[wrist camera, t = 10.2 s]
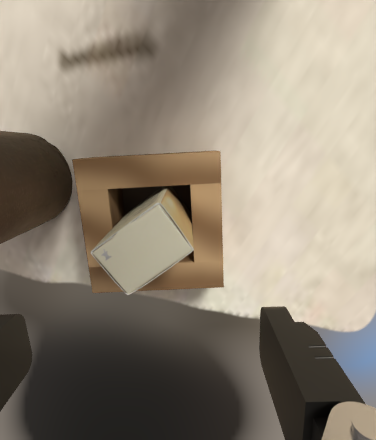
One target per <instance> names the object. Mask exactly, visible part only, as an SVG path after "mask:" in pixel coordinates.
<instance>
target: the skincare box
mask: <svg viewBox="0 0 376 440" xmlns="http://www.w3.org/2000/svg"><path fill="white" fill-rule="evenodd" d="M192 251H194V245H193V234H192V222H191V213H190V211H189V210H188V208H187V207H186V205H185V204H184V202H183V201H182V200H181V198H180V197H179V195H178V194H177V193H176V191H175V190H174V189H173V187H172V186H163V187H162V188H160V189H159V190H157V191H156V192H154V193H153V194H152V195H150V196H149V197H148V198H146V199H145V200H144V201H142V202H141V203H140V204H138V205H137V206H136V207H134V208H133V209H132V210H131V211H129V212H128V213H127V214H126V215H125V216H124V217H123V218H122V219H121V220H120V221H119V222H118V223H117V224H116V225H115V226H114V227H113V229H112V230H111V231H110V232H109V233H108V234H107V235H106V236H105V237H104V238H103V239H102V240H101V241H100V242H99V243H98V244H97V245H96V246H95V247H94V248H93V250H91V254H92V256H93V257H94V258H95V259H96V260H97V262H98V263H99V264H100V265H101V266H102V268H103V269H104V270H105V271H106V272H107V274H108V275H109V276H110V277H111V278H112V279H113V281H114V282H115V283H116V284H117V285H118V286H119V287H120V288H121V289H122V290H123V291H124V293H125V294H126V295H130V294H132V293H133V292H135V291H137V290H138V289H140V288H142V287H143V286H145V285H146V284H148V283H149V282H151V281H152V280H154V279H155V278H157V277H158V276H160V275H161V274H162V273H164V272H165V271H167V270H168V269H169V268H171V267H172V266H174V265H175V264H176V263H178V262H179V261H180V260H182V259H183V258H184V257H186V256H187V255H188V254H190V253H191V252H192Z"/></svg>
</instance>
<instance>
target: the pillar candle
mask: <svg viewBox="0 0 376 440" xmlns="http://www.w3.org/2000/svg"><path fill="white" fill-rule="evenodd" d="M71 190H72V178H71V172H70V169H69V166H68V164H67V162H66V160H65V159H64V157H63V155H62V154H61V152H60V151H59V150H58V149H57V148H56V147H55V146H53V145H51V144H50V143H48V142H47V141H46V140H45V139H43V138H42V137H39V136H36V135H32V134H28V133H17V132H6V131H0V244H1V243H3V242H5V241H7V240H9V239H12V238H13V237H15V236H18V235H20V234H22V233H24V232H26V231H28V230H30V229H32V228H34V227H36V226H39V225H41V224H43V223H45V222H46V221H49V220H51V219H53V218H55V217H56V216H57V215H58V214H59V213H61V212H62V210H63V209H64V207H65V206H66V204H67V203H68V201H69V198H70V196H71V192H72V191H71Z"/></svg>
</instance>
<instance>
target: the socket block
mask: <svg viewBox="0 0 376 440" xmlns="http://www.w3.org/2000/svg"><path fill="white" fill-rule="evenodd" d="M72 161H73V167H74V174H75V180H76V187H77V193H78V200H79V207H80V213H81V220H82V226H83V233H84V239H85V246H86V253H87V259H88V266H89V272H90V279H91V285H92V292H93V293H102V292H124V291H123V290H122V289H121V288H120V287H119V286H118V285H117V284H116V283H115V282H114V281H113V279H112V278H111V277H110V276H109V275H108V274H107V272H106V271H105V270H104V269H103V268H102V266H101V265H100V264H99V263H98V262H97V260H96V259H95V258H94V257H93V256H92V254H91V250H93V248H94V247H95V246H96V245H97V244H98V243H99V242H100V241H101V240H102V239H103V238H104V237H105V236H106V235H107V234H108V233H109V232H110V231H111V230H112V229H113V227H114V226H115V225H116V224H117V223H118V222H119V221H120V220H121V219H122V218H123V217H124V216H125V215H126V214H127V213H128V212H129V211H131V210H132V209H133V208H134V207H136V206H137V205H138V204H140V203H141V202H142V201H144V200H145V199H146V198H148V197H149V196H150V195H152V194H153V193H154V192H156V191H157V190H159V189H160V188H162V187H163V186H172V187H173V189H174V190H175V191H176V193H177V194H178V195H179V197H180V198H181V200H182V201H183V202H184V204H185V205H186V207H187V208H188V210H189V211H190V213H191V222H192V227H193V230H192V234H193V245H194V251H192V252H191V253H190V254H188V255H187V256H186V257H184V258H183V259H182V260H180V261H179V262H178V263H176V264H175V265H174V266H172V267H171V268H169V269H168V270H167V271H165V272H164V273H162V274H161V275H160V276H158V277H157V278H155V279H154V280H152V281H151V282H149V283H148V284H146V285H145V286H143V287H142V288H140V289H138V290H137V291H147V290H170V289H192V288H214V287H224V285H223V244H222V202H221V160H220V151H201V152H182V153H164V154H146V155H127V156H109V157H92V158H82V159H73V160H72ZM190 188H191V191H190ZM191 207H192V211H191Z"/></svg>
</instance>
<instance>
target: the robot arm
mask: <svg viewBox="0 0 376 440" xmlns="http://www.w3.org/2000/svg"><path fill="white" fill-rule="evenodd" d="M259 349H260V359H261V365H262V368H263V372H264V375H265V378H266V381H267V384H268V387H269V390H270V394H271V397H272V400H273V403H274V406H275V409H276V412H277V416H278V419H279V422H280V425H281V428H282V431H283V434H284V437H285V440H376V409H375V408H373V407H371V406H369V405H366V404H365V402H364V401H363V399H362V398H361V397H360V395H359V394H358V392H357V391H356V389H355V388H354V386H353V385H352V383H351V382H350V380H349V379H348V377H347V376H346V374H345V373H344V371H343V370H342V368H341V367H340V365H339V364H338V362H337V361H336V359H334V358H333V355H332V353H331V352H330V350H329V349H328V348H326V345H325V343H324V341H323V340H322V338H321V337H320V335H319V334H318V332H316V331H315V330H314V329H312V328H311V327H310V326H308V325H307V324H306V323H304V322H294V320H293V319H292V317H291V315H290V313H289V312H288V310H287V308H286V307H262V308H261V313H260V346H259ZM31 362H32V351H31V346H30V341H29V337H28V332H27V328H26V324H25V319H24V317H23V316H22V315H20V314H9V315H8V314H7V315H0V411H1V410H2V408H3V407H4V405H5V404H6V402H7V401H8V399H9V398H10V397H11V395H12V394H13V393H14V391H15V390H16V388H17V387H18V386H19V384H20V383H21V381H22V380H23V379H24V377H25V376H26V374H27V373H28V371H29V368H30V366H31Z"/></svg>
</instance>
